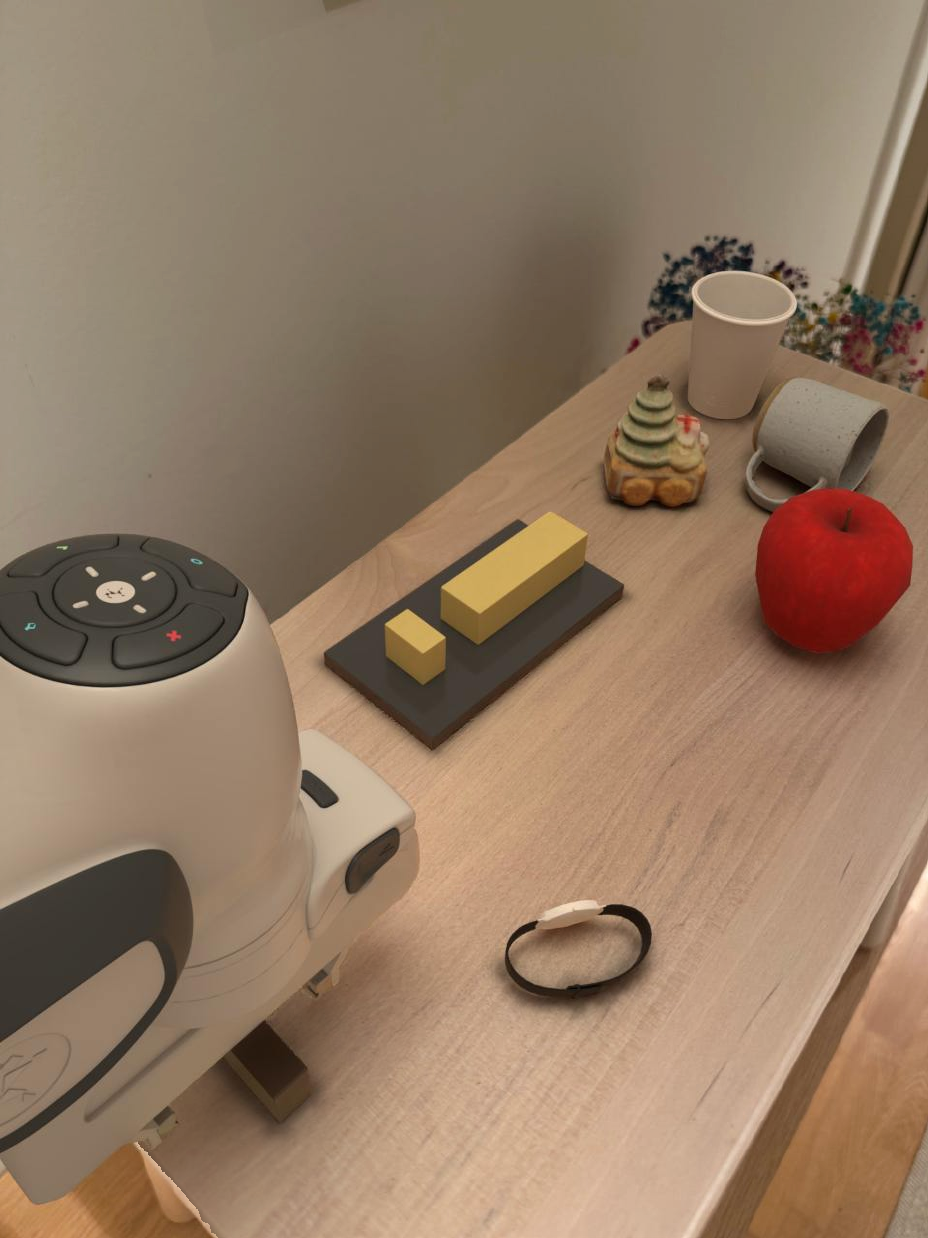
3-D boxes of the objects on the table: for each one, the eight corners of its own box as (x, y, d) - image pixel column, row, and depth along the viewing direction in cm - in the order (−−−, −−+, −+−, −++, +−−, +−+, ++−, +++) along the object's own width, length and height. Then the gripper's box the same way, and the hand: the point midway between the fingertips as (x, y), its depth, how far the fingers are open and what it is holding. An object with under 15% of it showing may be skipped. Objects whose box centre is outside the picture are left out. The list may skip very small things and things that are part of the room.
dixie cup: (681, 366, 96) (701, 262, 89) (774, 384, 94) (803, 280, 87) (663, 416, 90) (683, 309, 83) (761, 437, 88) (791, 329, 81)
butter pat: (422, 685, 67) (422, 653, 65) (385, 656, 69) (384, 623, 66) (445, 669, 68) (446, 637, 66) (408, 640, 70) (407, 608, 67)
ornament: (693, 462, 86) (717, 353, 79) (710, 510, 82) (737, 400, 74) (595, 463, 85) (611, 354, 78) (607, 512, 81) (625, 402, 74)
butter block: (478, 646, 69) (479, 613, 67) (439, 618, 71) (440, 586, 69) (584, 565, 75) (588, 533, 73) (546, 542, 77) (550, 510, 75)
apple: (869, 701, 68) (926, 578, 61) (723, 657, 71) (759, 534, 63) (887, 602, 75) (940, 480, 67) (752, 565, 77) (788, 443, 70)
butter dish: (432, 750, 65) (432, 738, 64) (324, 664, 70) (323, 652, 69) (622, 596, 75) (624, 584, 74) (516, 530, 79) (517, 518, 79)
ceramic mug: (783, 431, 89) (805, 351, 84) (873, 472, 85) (903, 391, 80) (715, 490, 84) (734, 409, 78) (808, 537, 80) (835, 455, 74)
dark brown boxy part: (280, 1124, 49) (273, 1100, 47) (133, 954, 55) (121, 926, 53) (313, 1093, 50) (308, 1067, 48) (165, 929, 56) (155, 900, 54)
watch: (628, 906, 58) (638, 870, 55) (660, 986, 55) (672, 953, 52) (492, 936, 56) (495, 901, 54) (516, 1020, 53) (521, 988, 51)
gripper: (-15, 1174, 33) (83, 1289, 43) (445, 789, 44) (439, 951, 53) (-112, 1034, 36) (1, 1171, 46) (342, 705, 47) (354, 874, 56)
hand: (240, 1050), depth 50 cm, fingers open, 8 cm apart
